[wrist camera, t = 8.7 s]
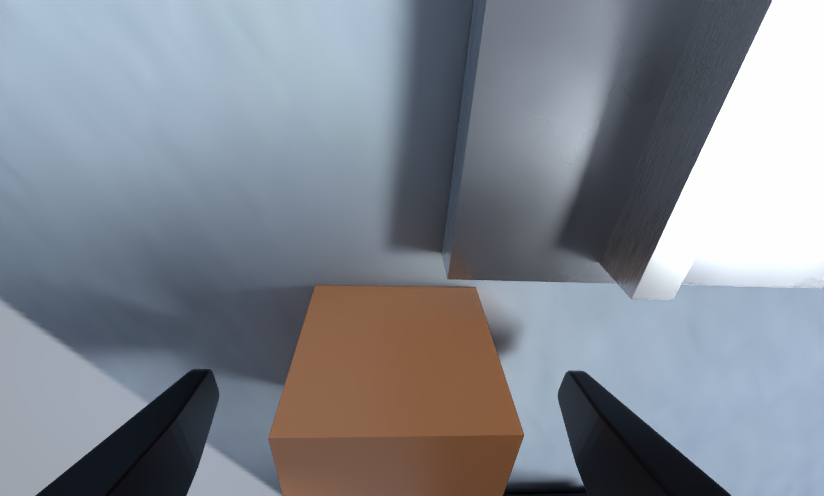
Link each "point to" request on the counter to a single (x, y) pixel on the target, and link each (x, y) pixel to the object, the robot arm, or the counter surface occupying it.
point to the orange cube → (395, 397)
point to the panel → (641, 145)
